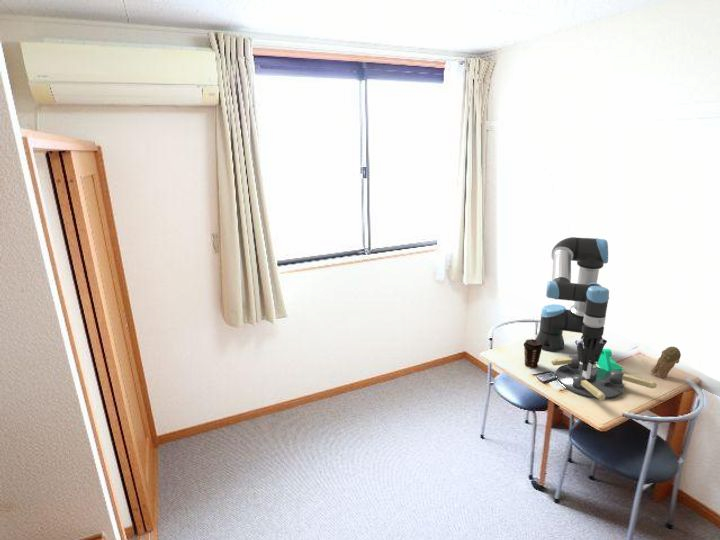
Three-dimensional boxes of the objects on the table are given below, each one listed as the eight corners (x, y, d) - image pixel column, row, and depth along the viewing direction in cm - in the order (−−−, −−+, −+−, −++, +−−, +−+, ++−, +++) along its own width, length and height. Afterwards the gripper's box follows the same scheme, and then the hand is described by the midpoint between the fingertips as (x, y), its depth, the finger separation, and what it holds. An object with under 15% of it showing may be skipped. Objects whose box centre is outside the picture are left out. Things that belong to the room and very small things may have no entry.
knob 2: (608, 382, 190) (609, 372, 189) (610, 377, 194) (612, 368, 192) (654, 395, 179) (656, 385, 178) (655, 390, 183) (657, 380, 181)
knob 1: (570, 383, 189) (571, 374, 188) (579, 382, 190) (581, 373, 189) (597, 406, 173) (598, 395, 171) (608, 404, 174) (609, 394, 172)
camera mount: (623, 373, 202) (626, 354, 199) (607, 374, 202) (610, 355, 199) (607, 361, 213) (610, 343, 211) (593, 362, 213) (596, 343, 210)
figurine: (649, 374, 200) (654, 345, 196) (661, 370, 203) (666, 343, 199) (666, 382, 193) (672, 353, 189) (678, 379, 195) (685, 350, 191)
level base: (543, 370, 206) (545, 352, 203) (593, 364, 210) (596, 347, 208) (581, 402, 179) (584, 382, 177) (638, 395, 184) (642, 375, 181)
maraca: (574, 363, 207) (575, 354, 206) (581, 368, 203) (582, 359, 201) (548, 366, 205) (549, 357, 204) (554, 371, 200) (555, 362, 199)
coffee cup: (533, 360, 216) (535, 337, 212) (544, 367, 208) (546, 344, 205) (518, 362, 214) (520, 339, 210) (529, 370, 206) (531, 346, 203)
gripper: (585, 329, 161) (577, 383, 168) (614, 326, 164) (606, 380, 170) (572, 322, 169) (566, 374, 175) (601, 319, 171) (593, 371, 177)
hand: (585, 377), depth 172 cm, fingers closed
